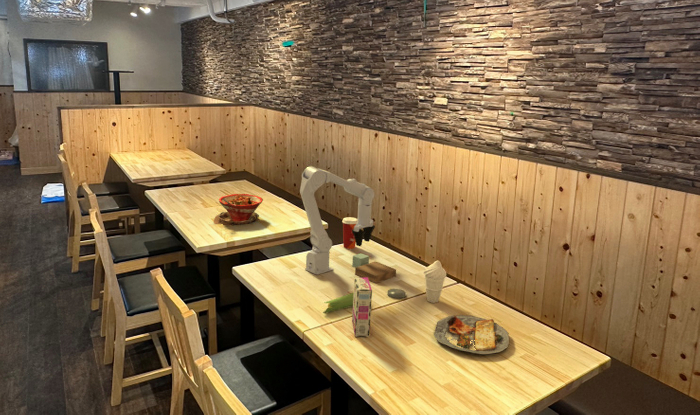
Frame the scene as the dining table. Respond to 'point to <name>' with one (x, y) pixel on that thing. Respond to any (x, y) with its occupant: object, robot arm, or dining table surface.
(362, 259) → the cube
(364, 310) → the candy bar box
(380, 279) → the base block
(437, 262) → the soft serve ice cream cone
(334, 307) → the edible corn
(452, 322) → the food plate
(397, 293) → the grey flat round pebble
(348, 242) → the paper cup
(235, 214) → the stew
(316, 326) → the dining table surface
